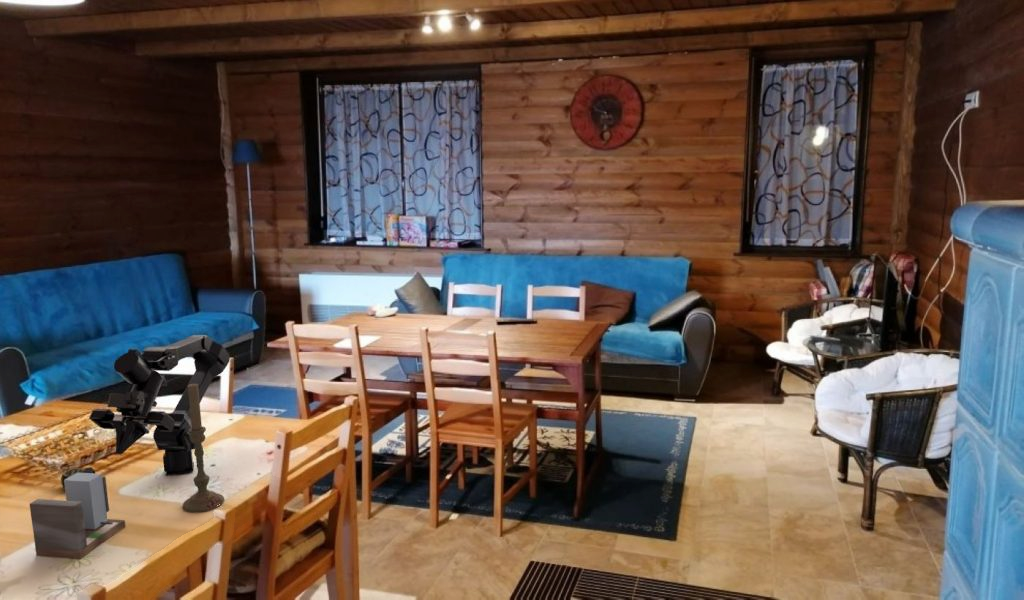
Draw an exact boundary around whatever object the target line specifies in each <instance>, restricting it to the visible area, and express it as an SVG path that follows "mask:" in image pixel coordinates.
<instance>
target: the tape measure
mask: <svg viewBox="0 0 1024 600" xmlns="http://www.w3.org/2000/svg"><path fill="white" fill-rule="evenodd" d="M76 473H95V474H96V470H95V469H94V468H93V467H92V466H89V467H77V468H72V469H68V470H65V471H64V472H63V473H62V474H61V476H60V483H61V486H62V487H63V488H64V489H65V485H64V480H65V479H67V478H69V477H70V476H72V475H74V474H76Z"/></svg>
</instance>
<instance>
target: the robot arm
mask: <svg viewBox="0 0 1024 600" xmlns="http://www.w3.org/2000/svg"><path fill="white" fill-rule="evenodd" d="M190 356H191V358H192V359H193V360H194V361H193V363H194V367H195V371H194V373H193V375H192V377H191V379H190V380H189V382H188V384H187V386H186V388H185V390H184V391H183V394H182V395H181V397H180V398H179V401H178V402H177V404H176V406H175V408H174V410H173V411H172V412H166V411H163V410H161V411H160V410H152V408H153V407H157V404H158V402H157V401H156V398H157V396H158V393H159V392H160V388H161V386H165V387H166V386H167V385H168V382H167V381H168V380H166V377H165V374H161V373H159V372H158V371H160V372H170V371H171V370H173V369H174V368H175V367H177V366H178V365H179V361H181V360H184V359H186V358H188V357H190ZM230 360H231V359H230V353H229V351H228V350H227V349H226V348H225V347H224V346H223V345H222V344H220V343H218V342H216V341H214V340H213V339H212V338H211V337H210V336H208V335H207V334H205V335H204V334H192V335H190V336H189V337H187V338H184V339H182V340H180V341H177V342H174V343H171V344H169V345H166V346H150V347H146V348H144V349H143V350H142V352H140V350H138V349H137V348H135V349H134V348H129V349H128V351H127V352H126V353H123V354H122V355H120V356H119V357H118V358H117V359H115V361H114V364H113V368H114V371H115V372H116V373H117V374H118V375H120V376H121V377H122V378H123V379H124V380H125V381H126V382H127V383H129V384H131V385H132V388H131V390H130V391H126V392H125V393H113V392H111V393H109V397H108V402H107V408H116V409H115V411H116V412H118V413H115V412H114V411H112V410H111V409H107V408H95V409H94V410H92V411H91V413H90V416H89V418H88V420H90V421H91V422H93V423H94V424H95V425H97V426H98V427H99V428H101V429H105V430H115V439H116V440H115V453H116V454H117V455H123V453H125V452H126V451H127V450H128V449H129V448H131V446H132V445H134V444H135V443H136V442H138V440H140V439H141V438H143V437H144V436H145V435H148V434H149V433H150V430H149V429H150V426H155V429H154V430H153V434H152V437H153V440H154V443H155V445H156V448H157V450H158V451H164V453H163V456H162V460H163V461H162V462H163V471H164V472H165V476H166V477H169V476H176V475H183V474H189V473H193V472H194V468H195V463H194V460H193V451H192V450H195V449H194V448H195V444H194V443H192V442H191V441H190V437H191V434H189V432H188V430H189V429H190V428H192V426H191V415H190V404H189V393H188V385H190V384H193V382H194V384H198V390H199V401H200V403H201V402H202V400H203V398H204V396H205V394H206V392H207V390H208V389H209V386H210V384H211V383H212V381H213V379H214V378H217V376H219V375H221V374H222V373H223V372H224V371H225V369H226V368H227V367H228V365H229V363H230Z"/></svg>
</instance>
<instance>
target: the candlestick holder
mask: <svg viewBox="0 0 1024 600" xmlns="http://www.w3.org/2000/svg"><path fill="white" fill-rule="evenodd" d="M187 386H188V393H189V404H190V415H191V426H192V428H190V429H189V430H188V432H189V434H191V437H190V441H191V442H192V443H194V444H195V448H194V449H193V450H194V451H193V452H194V456H195V457H196V458H195V460H196V461H195V463H196V465H195V466H196V469H197V473H196V476H195V477H193V483H194V485H195V487H197V492H196V493H194V494H192V495H191V496H190V497H188V498H187V499H185V501H183V503H182V508H183V510H184V511H186V512H189V513H203V512H208V511H211V509H212V508H214V507H216V506H217V505H219V504H221V503H222V502H223V501H224V502H225V497H224V495H223V494H221V493H217V492H215V491H211V490H209V489H208V487H207V486H208V484H209V482H210V476H209V474H206V472H205V469H204V467H205V464H204V454H205V451H204V448H203V442H205V440H206V435H205V432H206V431H207V430H206V429H207V428H206V427H205V426H202V415H201V412H202V411H201V402H200V401H199V390H198V384H194V382H193V384H190V385H188V384H187ZM224 502H223V503H224ZM223 503H222V504H223ZM222 504H221V505H222ZM214 509H215V508H214ZM207 510H208V511H207ZM212 510H213V509H212Z"/></svg>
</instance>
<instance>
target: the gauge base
mask: <svg viewBox="0 0 1024 600" xmlns="http://www.w3.org/2000/svg"><path fill="white" fill-rule="evenodd" d="M29 511H30V518H31V525H32V532H33V540H34V549H35V554H36V557H45V556H47V558H49V557H50V558H51V557H52V558H59V559H60V558H62V559H72V560H73V559H76V560H81V559H83V558H84V557H85V556H87V555H88V554H90V552H92V551H94V550H95V549H96V548H98V547H100V546H101V545H102V544H104V543H105V542H106V541H107V540H109V539H110V538H112V537H113V536H114V535H115V534H117V533H119V532H120V531H121V530H122V529H123V528H126V520H125V519H113V518H107V519H108V521H107V522H113V524H112V525H109V524H102V525H101V526H99V527H98V528H97V529H85V524H84V516H83V508H82V502H81V501H66V500H62V499H60V500H59V499H47V498H46V499H45V498H37V499H35V500H34V501H32V502H30V503H29Z"/></svg>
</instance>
